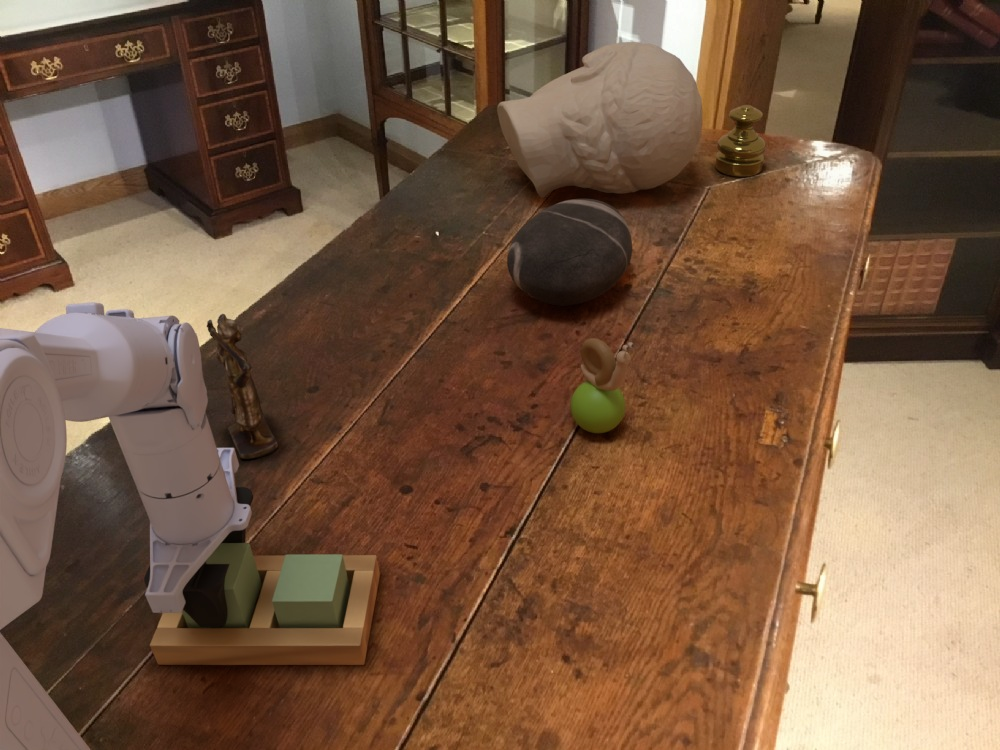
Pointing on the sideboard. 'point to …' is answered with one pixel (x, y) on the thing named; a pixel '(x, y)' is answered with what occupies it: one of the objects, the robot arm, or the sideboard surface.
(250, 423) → the figurine
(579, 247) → the decorative stone
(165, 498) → the robot arm
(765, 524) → the sideboard surface
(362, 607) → the backing frame
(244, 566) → the olive green cubic block
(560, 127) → the bust
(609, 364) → the snail figurine
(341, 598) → the green cubic block
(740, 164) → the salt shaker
